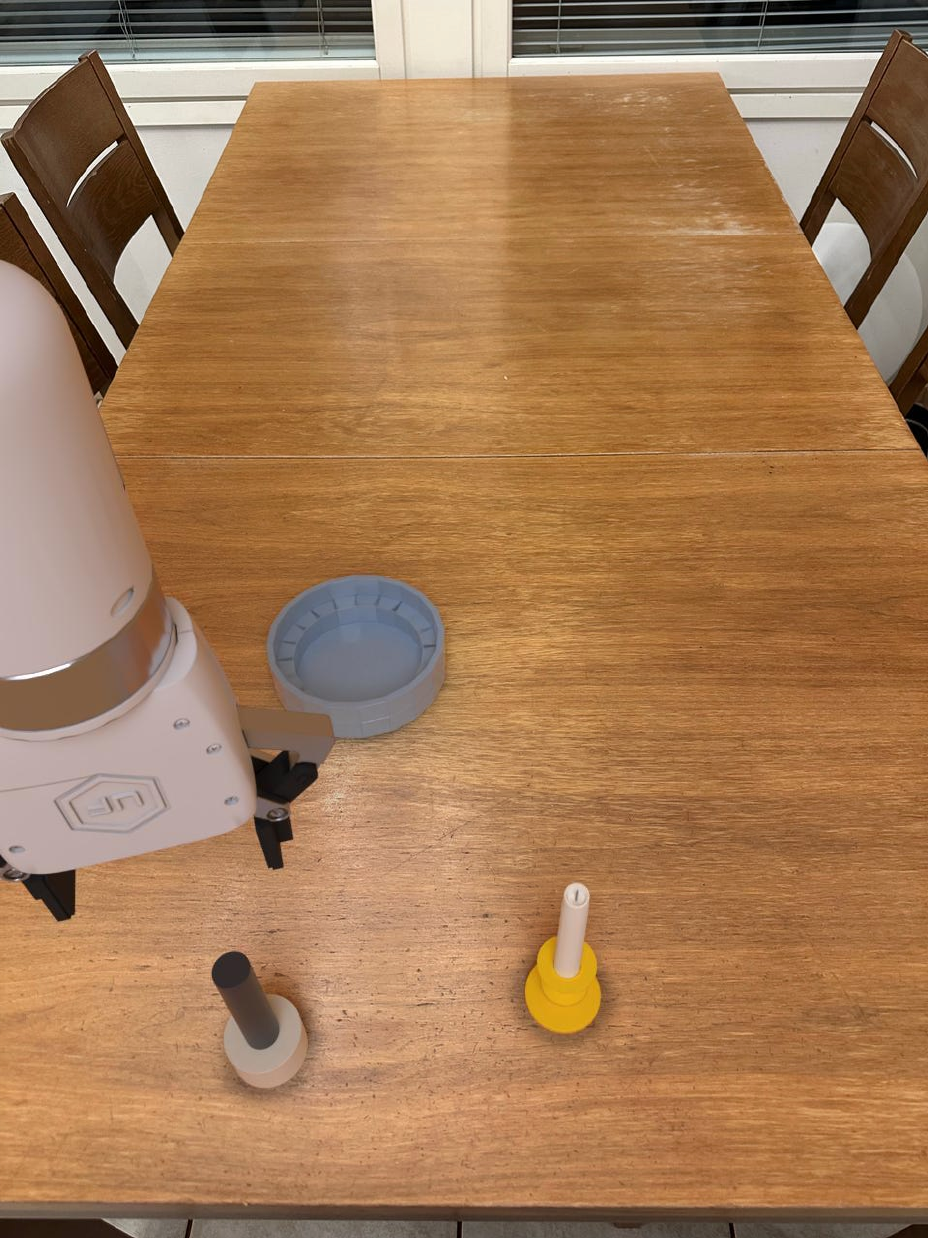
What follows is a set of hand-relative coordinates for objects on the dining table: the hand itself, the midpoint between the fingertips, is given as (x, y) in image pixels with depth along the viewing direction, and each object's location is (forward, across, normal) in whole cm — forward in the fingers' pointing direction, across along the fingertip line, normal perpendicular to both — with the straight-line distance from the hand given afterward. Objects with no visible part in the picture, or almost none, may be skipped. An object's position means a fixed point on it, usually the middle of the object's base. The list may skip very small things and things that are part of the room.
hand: (172, 867), depth 45 cm
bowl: (+25, +13, +30) cm, 41 cm away
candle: (+24, +21, -2) cm, 32 cm away
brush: (+25, +1, 0) cm, 25 cm away
